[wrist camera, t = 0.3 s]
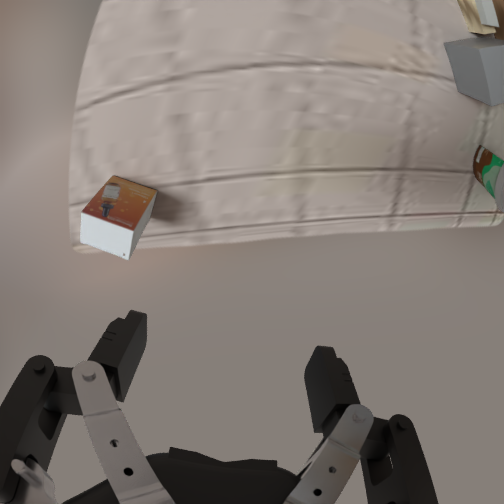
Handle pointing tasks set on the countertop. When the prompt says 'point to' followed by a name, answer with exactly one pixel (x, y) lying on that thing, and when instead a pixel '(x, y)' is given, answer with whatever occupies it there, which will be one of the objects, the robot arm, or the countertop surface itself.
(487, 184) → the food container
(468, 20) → the pine offcut
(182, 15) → the countertop surface
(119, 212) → the small box
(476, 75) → the slate block
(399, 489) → the robot arm
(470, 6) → the pine offcut
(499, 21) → the walnut rack
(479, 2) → the grey painted offcut
